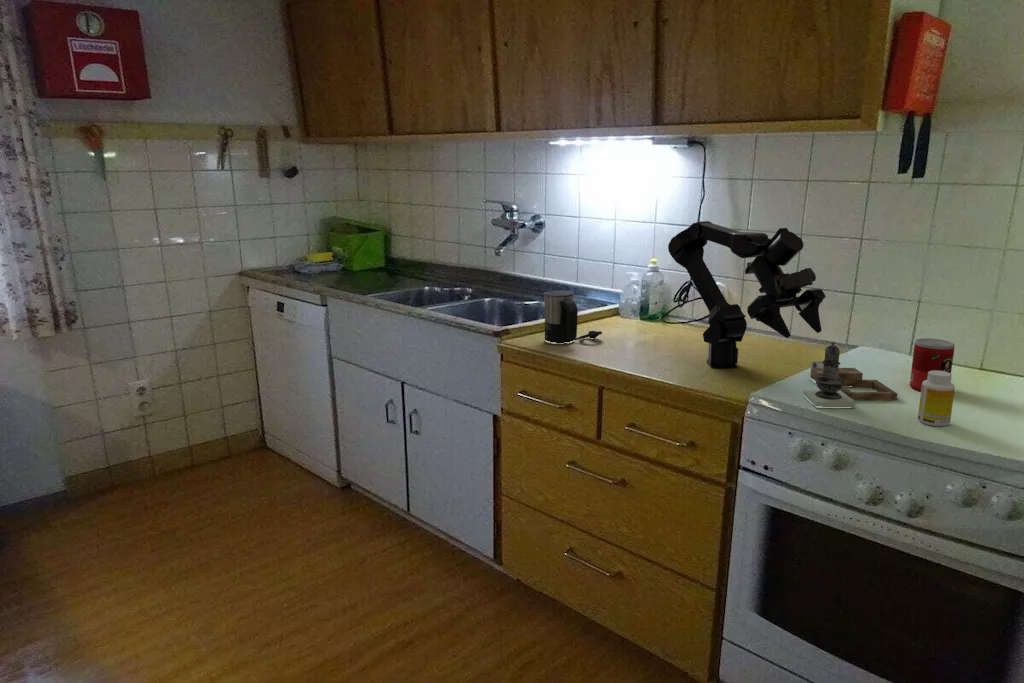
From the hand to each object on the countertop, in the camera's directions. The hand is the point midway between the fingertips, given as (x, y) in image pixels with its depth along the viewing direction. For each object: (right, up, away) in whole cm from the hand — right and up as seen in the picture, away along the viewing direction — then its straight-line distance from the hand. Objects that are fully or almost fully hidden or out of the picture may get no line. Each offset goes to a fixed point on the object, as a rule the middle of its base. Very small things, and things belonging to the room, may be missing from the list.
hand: (804, 334), depth 157 cm
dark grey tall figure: (+3, -13, -4) cm, 14 cm away
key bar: (+10, -10, +14) cm, 20 cm away
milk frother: (-47, -2, +53) cm, 71 cm away
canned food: (+30, -13, +4) cm, 33 cm away
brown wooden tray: (+13, -13, +4) cm, 18 cm away
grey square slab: (+3, -15, -4) cm, 16 cm away
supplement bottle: (+19, -18, -17) cm, 31 cm away
